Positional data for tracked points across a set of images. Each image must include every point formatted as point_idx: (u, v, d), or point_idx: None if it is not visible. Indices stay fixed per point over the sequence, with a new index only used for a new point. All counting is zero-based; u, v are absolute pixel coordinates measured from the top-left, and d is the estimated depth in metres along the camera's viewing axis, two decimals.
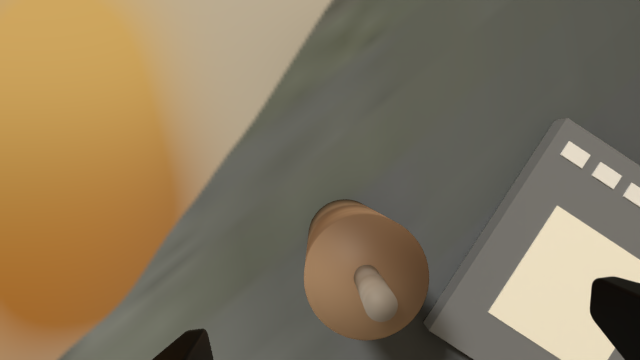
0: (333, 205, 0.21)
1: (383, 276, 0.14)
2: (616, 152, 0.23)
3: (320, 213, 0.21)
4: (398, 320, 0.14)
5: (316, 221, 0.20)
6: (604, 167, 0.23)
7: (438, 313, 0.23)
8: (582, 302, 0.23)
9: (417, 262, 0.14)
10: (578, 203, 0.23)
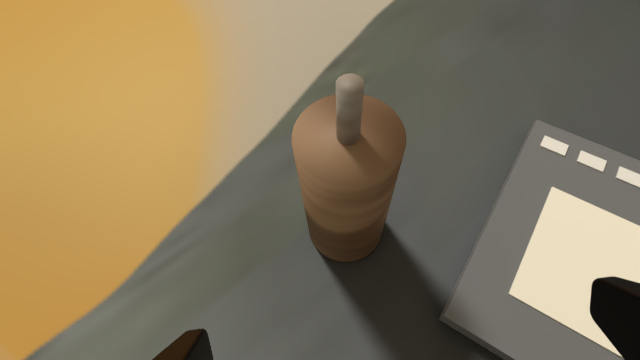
0: None
1: (363, 134, 0.15)
2: (593, 143, 0.25)
3: None
4: (380, 167, 0.14)
5: None
6: (586, 154, 0.24)
7: (451, 297, 0.20)
8: None
9: (393, 123, 0.15)
10: (573, 185, 0.23)
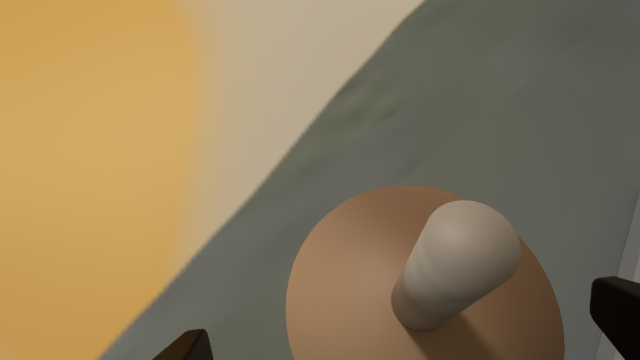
0: None
1: None
2: None
3: None
4: None
5: None
6: None
7: None
8: None
9: (522, 268, 0.07)
10: None
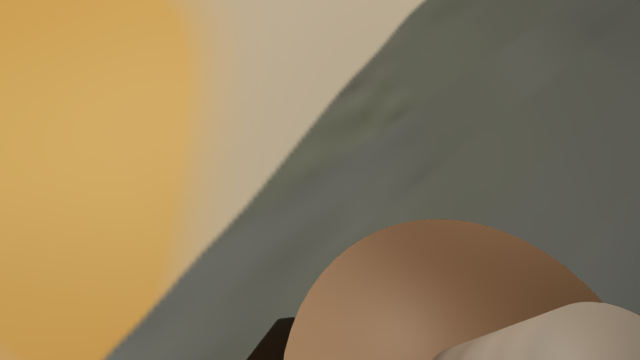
0: None
1: None
2: None
3: None
4: None
5: None
6: None
7: None
8: None
9: None
10: None
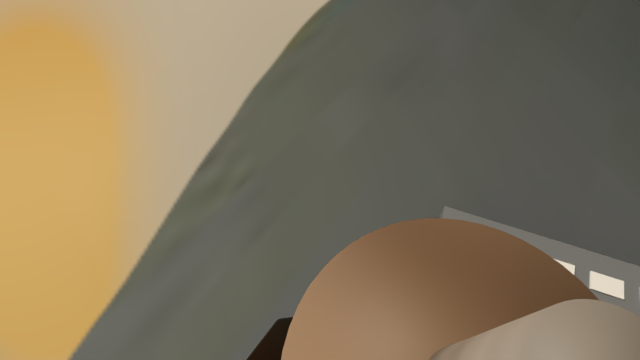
0: None
1: None
2: (510, 228, 0.21)
3: None
4: None
5: None
6: None
7: None
8: None
9: None
10: None
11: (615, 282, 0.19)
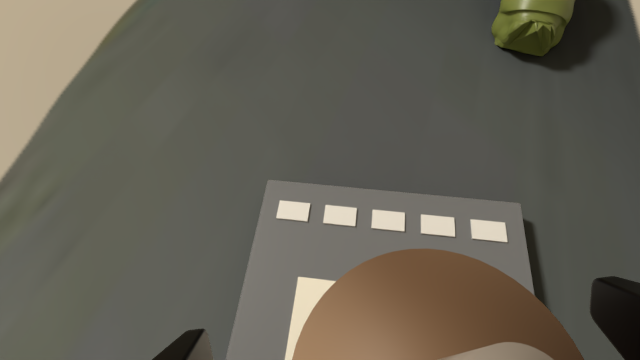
0: None
1: None
2: (338, 188, 0.19)
3: None
4: None
5: None
6: (332, 208, 0.18)
7: None
8: None
9: (558, 355, 0.06)
10: (324, 261, 0.17)
11: (446, 220, 0.18)
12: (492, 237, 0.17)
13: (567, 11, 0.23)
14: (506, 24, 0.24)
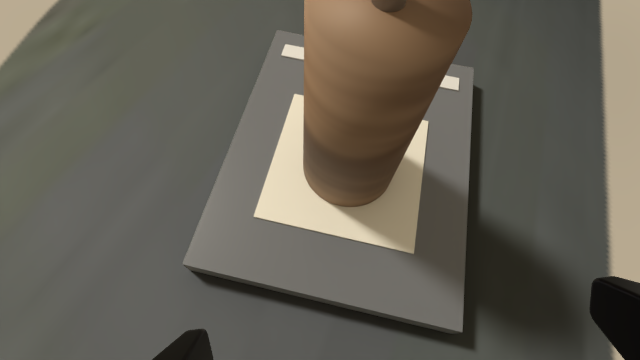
0: None
1: (410, 1, 0.10)
2: None
3: None
4: (432, 46, 0.10)
5: None
6: None
7: (192, 241, 0.17)
8: None
9: None
10: None
11: None
12: (447, 86, 0.22)
13: None
14: None
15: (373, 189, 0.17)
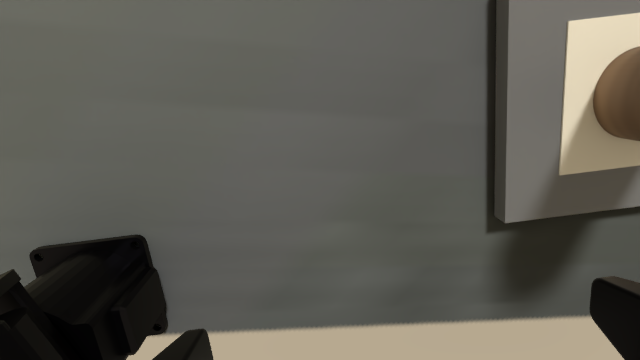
0: None
1: None
2: None
3: None
4: None
5: None
6: None
7: None
8: None
9: None
10: None
11: None
12: None
13: None
14: None
15: (627, 126, 0.18)
